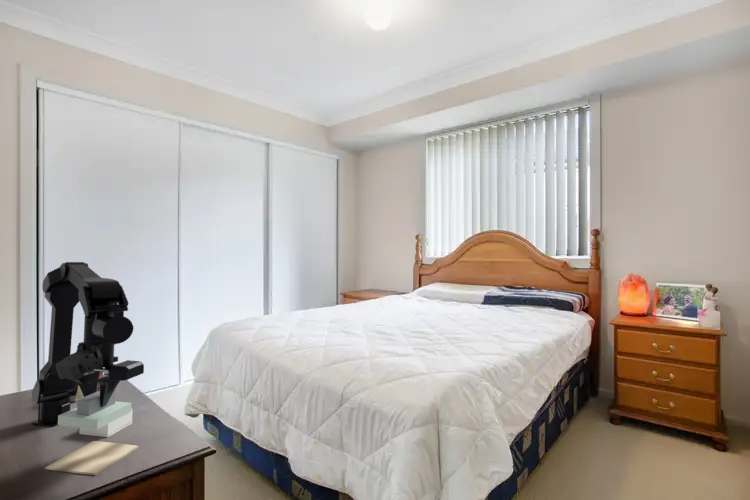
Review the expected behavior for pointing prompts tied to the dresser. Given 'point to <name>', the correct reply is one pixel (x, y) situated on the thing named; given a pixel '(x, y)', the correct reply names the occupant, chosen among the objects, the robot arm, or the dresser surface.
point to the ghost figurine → (78, 396)
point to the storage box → (109, 426)
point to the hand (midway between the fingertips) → (96, 406)
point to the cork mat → (92, 458)
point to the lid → (94, 412)
